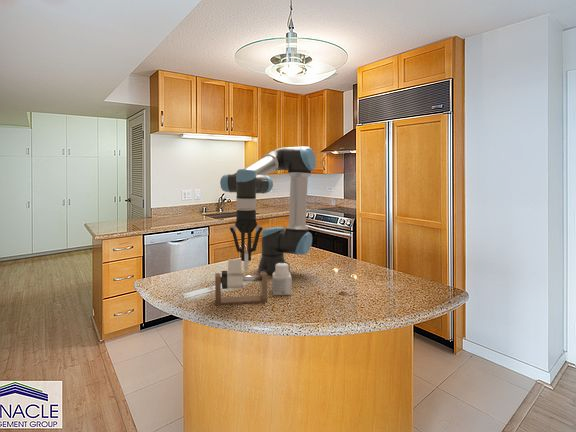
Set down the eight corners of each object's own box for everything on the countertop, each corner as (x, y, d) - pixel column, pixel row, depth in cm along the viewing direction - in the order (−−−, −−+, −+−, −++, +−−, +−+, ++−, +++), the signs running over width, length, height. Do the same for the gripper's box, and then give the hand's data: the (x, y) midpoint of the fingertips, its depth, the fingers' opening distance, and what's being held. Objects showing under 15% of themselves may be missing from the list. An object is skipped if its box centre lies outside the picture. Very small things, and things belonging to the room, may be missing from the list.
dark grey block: (226, 284, 138) (226, 270, 137) (227, 288, 132) (227, 274, 132) (221, 284, 137) (221, 270, 137) (222, 288, 132) (222, 274, 131)
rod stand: (264, 296, 142) (265, 270, 141) (267, 302, 136) (267, 274, 135) (215, 299, 138) (215, 272, 137) (215, 305, 132) (215, 277, 131)
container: (272, 289, 152) (272, 260, 151) (289, 289, 153) (290, 260, 151) (273, 295, 144) (273, 264, 143) (291, 294, 145) (291, 264, 144)
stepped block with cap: (241, 283, 139) (241, 257, 138) (243, 287, 134) (243, 261, 133) (226, 284, 138) (226, 258, 137) (227, 288, 132) (227, 261, 131)
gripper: (261, 208, 138) (261, 266, 141) (228, 208, 136) (228, 267, 138) (264, 210, 131) (263, 270, 134) (229, 210, 128) (229, 272, 131)
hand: (246, 268), depth 136 cm, fingers closed
